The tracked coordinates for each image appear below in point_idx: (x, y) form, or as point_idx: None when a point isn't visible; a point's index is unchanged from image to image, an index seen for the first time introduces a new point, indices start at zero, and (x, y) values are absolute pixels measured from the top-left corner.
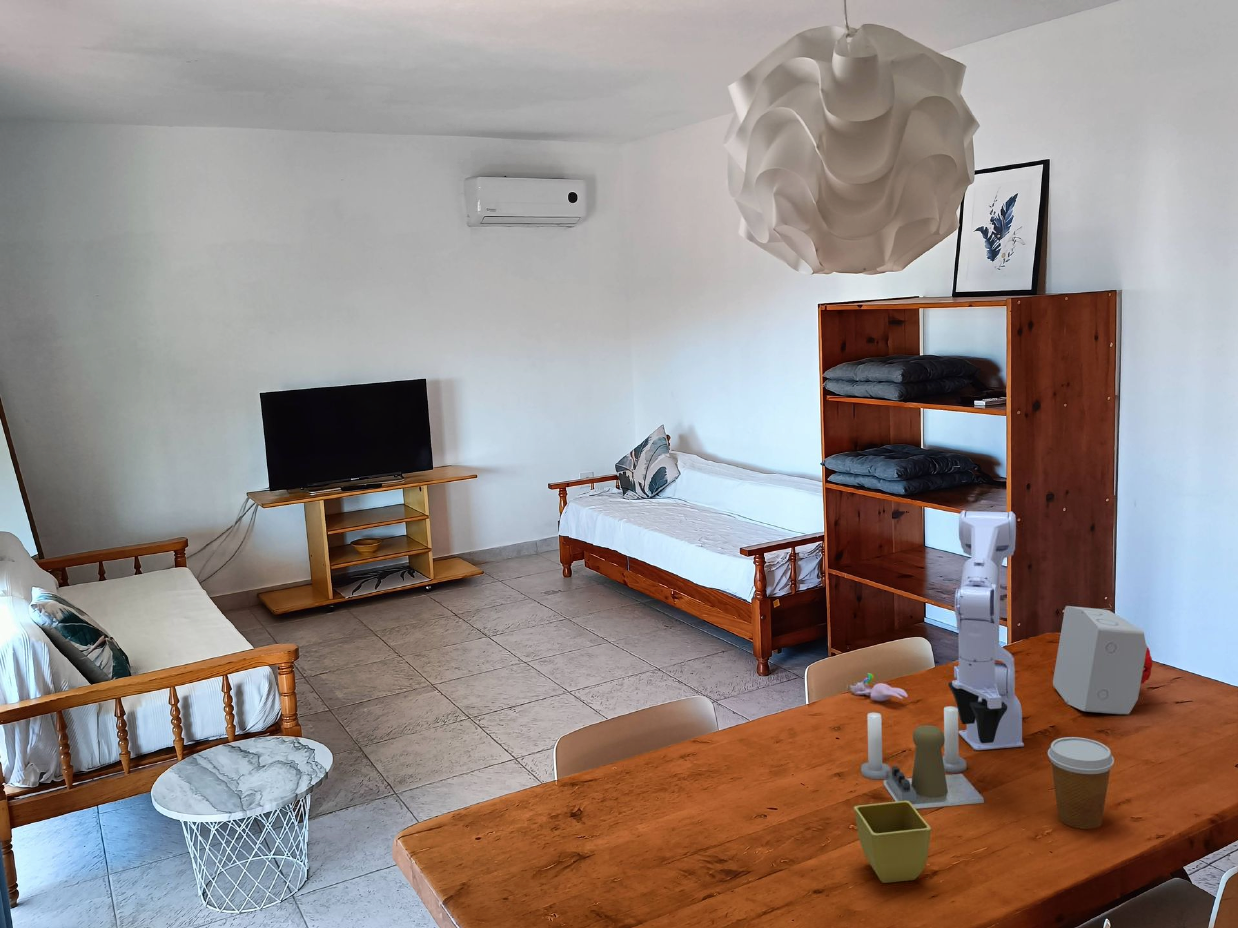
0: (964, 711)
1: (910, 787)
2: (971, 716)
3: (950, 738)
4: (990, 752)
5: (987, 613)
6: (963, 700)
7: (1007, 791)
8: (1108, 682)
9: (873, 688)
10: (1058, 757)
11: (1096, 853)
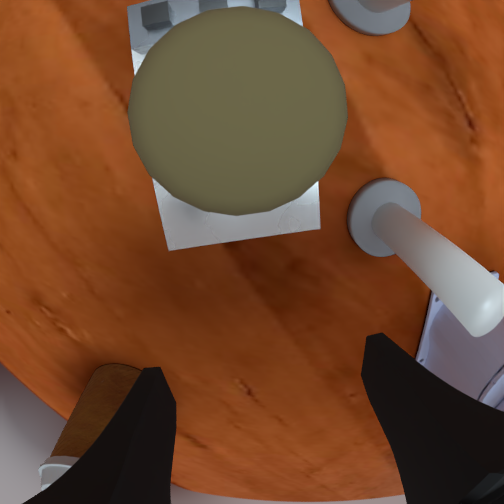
0: (392, 390)
1: (160, 34)
2: (373, 391)
3: (414, 247)
4: (416, 313)
5: None
6: (422, 437)
7: (233, 311)
8: None
9: None
10: (54, 475)
11: (28, 367)
